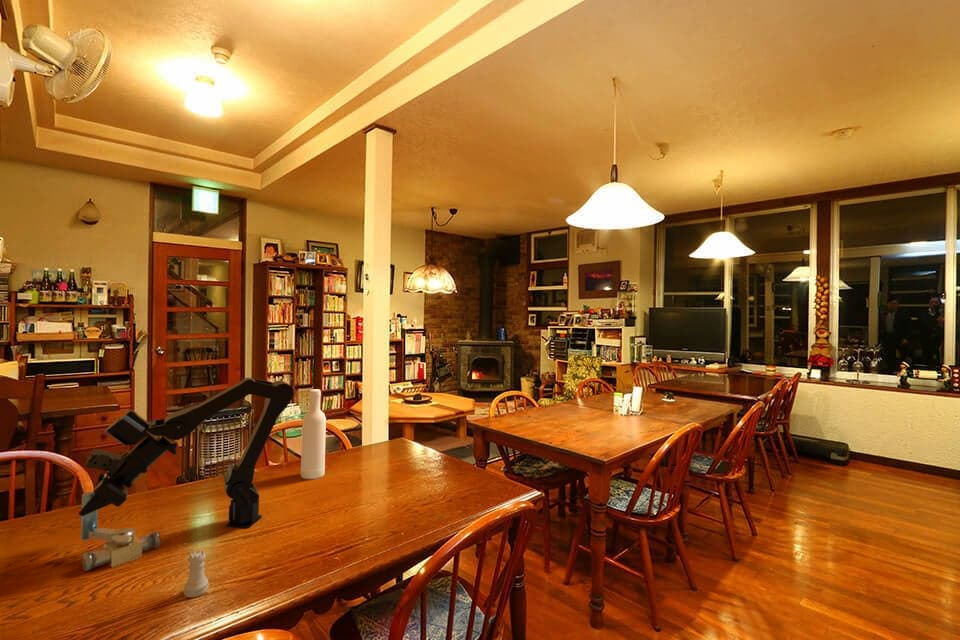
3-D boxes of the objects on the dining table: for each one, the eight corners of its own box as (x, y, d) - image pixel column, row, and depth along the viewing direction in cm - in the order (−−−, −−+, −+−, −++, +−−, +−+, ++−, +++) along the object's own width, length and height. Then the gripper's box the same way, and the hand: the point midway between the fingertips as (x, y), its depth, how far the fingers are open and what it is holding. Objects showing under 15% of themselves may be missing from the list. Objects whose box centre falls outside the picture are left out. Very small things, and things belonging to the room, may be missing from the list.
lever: (138, 537, 106) (139, 494, 106) (123, 546, 102) (123, 501, 102) (92, 532, 108) (93, 490, 108) (75, 540, 104) (75, 496, 104)
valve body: (153, 542, 112) (153, 526, 112) (161, 550, 108) (162, 534, 108) (81, 566, 101) (81, 548, 101) (88, 575, 97) (88, 557, 97)
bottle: (308, 470, 164) (310, 387, 164) (328, 472, 163) (331, 388, 162) (296, 478, 156) (298, 391, 156) (317, 480, 155) (320, 392, 154)
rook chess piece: (190, 585, 95) (191, 547, 95) (213, 585, 96) (214, 547, 96) (178, 598, 91) (179, 559, 91) (202, 598, 91) (203, 559, 91)
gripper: (116, 427, 115) (56, 478, 109) (107, 447, 100) (37, 508, 94) (153, 453, 120) (98, 504, 114) (151, 476, 104) (87, 536, 98)
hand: (81, 512), depth 105 cm, fingers closed on lever, 3 cm apart
